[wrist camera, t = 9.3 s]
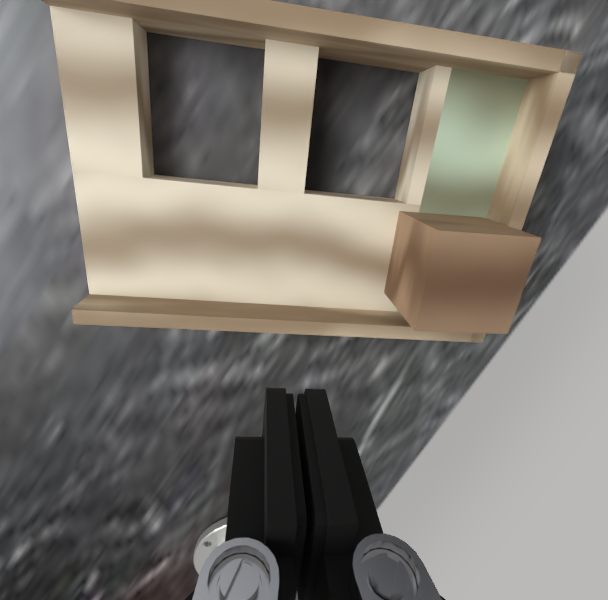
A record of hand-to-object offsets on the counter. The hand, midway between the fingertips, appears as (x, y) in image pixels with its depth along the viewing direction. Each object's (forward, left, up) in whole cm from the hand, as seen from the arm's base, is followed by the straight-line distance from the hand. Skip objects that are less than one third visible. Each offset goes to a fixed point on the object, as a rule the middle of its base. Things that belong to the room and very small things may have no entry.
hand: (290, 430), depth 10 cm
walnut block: (+1, -11, -16) cm, 20 cm away
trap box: (+5, -1, -19) cm, 19 cm away
